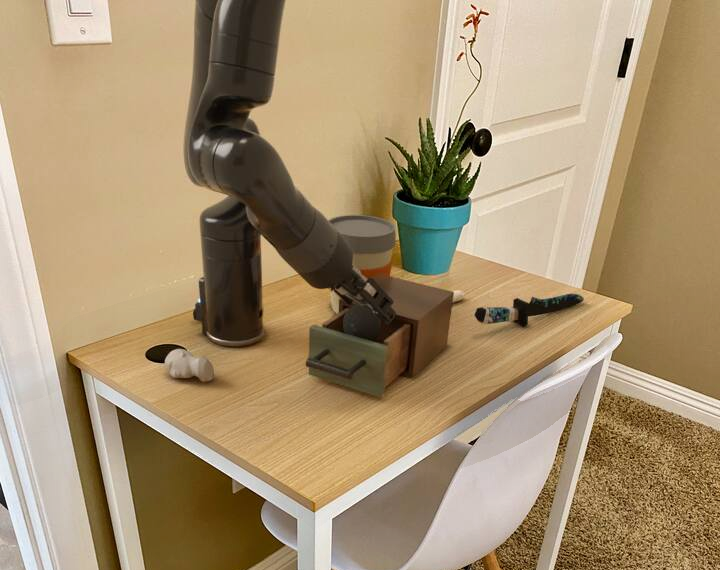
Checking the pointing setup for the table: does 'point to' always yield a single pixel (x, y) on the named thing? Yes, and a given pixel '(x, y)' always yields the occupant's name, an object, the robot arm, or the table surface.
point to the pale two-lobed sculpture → (188, 365)
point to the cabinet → (418, 317)
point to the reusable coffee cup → (366, 245)
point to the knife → (526, 309)
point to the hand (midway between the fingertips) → (371, 308)
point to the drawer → (359, 355)
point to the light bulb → (361, 323)
